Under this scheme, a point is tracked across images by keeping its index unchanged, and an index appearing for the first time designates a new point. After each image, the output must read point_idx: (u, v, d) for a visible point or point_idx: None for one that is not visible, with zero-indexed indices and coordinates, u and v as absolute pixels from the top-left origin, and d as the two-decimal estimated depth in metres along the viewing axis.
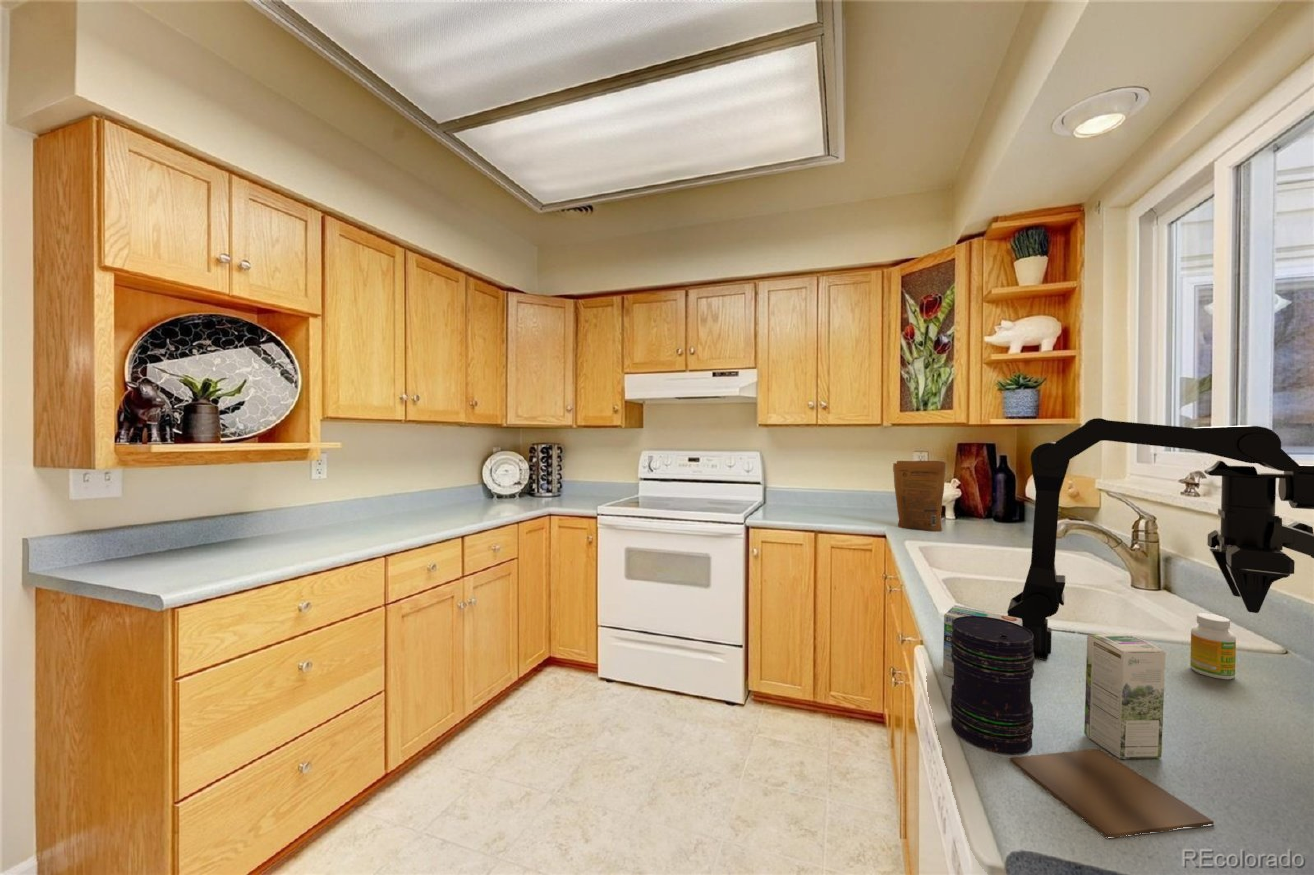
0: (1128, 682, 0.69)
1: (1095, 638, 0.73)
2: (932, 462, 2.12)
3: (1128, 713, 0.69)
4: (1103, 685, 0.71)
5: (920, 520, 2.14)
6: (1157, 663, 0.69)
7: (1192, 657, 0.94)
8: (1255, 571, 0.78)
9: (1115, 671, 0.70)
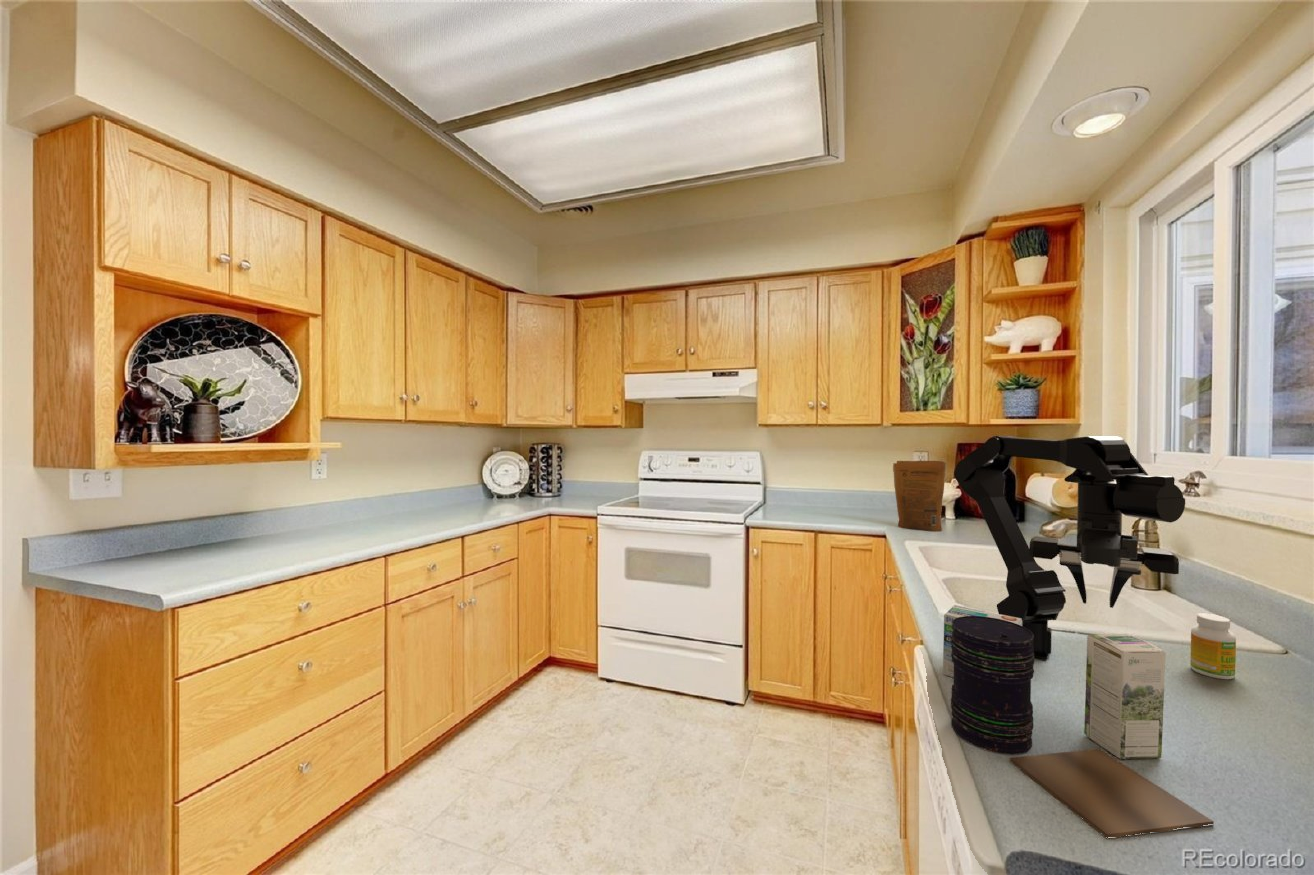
0: (1128, 682, 0.69)
1: (1095, 638, 0.73)
2: (932, 462, 2.12)
3: (1128, 713, 0.69)
4: (1104, 685, 0.71)
5: (920, 520, 2.14)
6: (1157, 663, 0.69)
7: (1192, 657, 0.94)
8: None
9: (1115, 671, 0.70)
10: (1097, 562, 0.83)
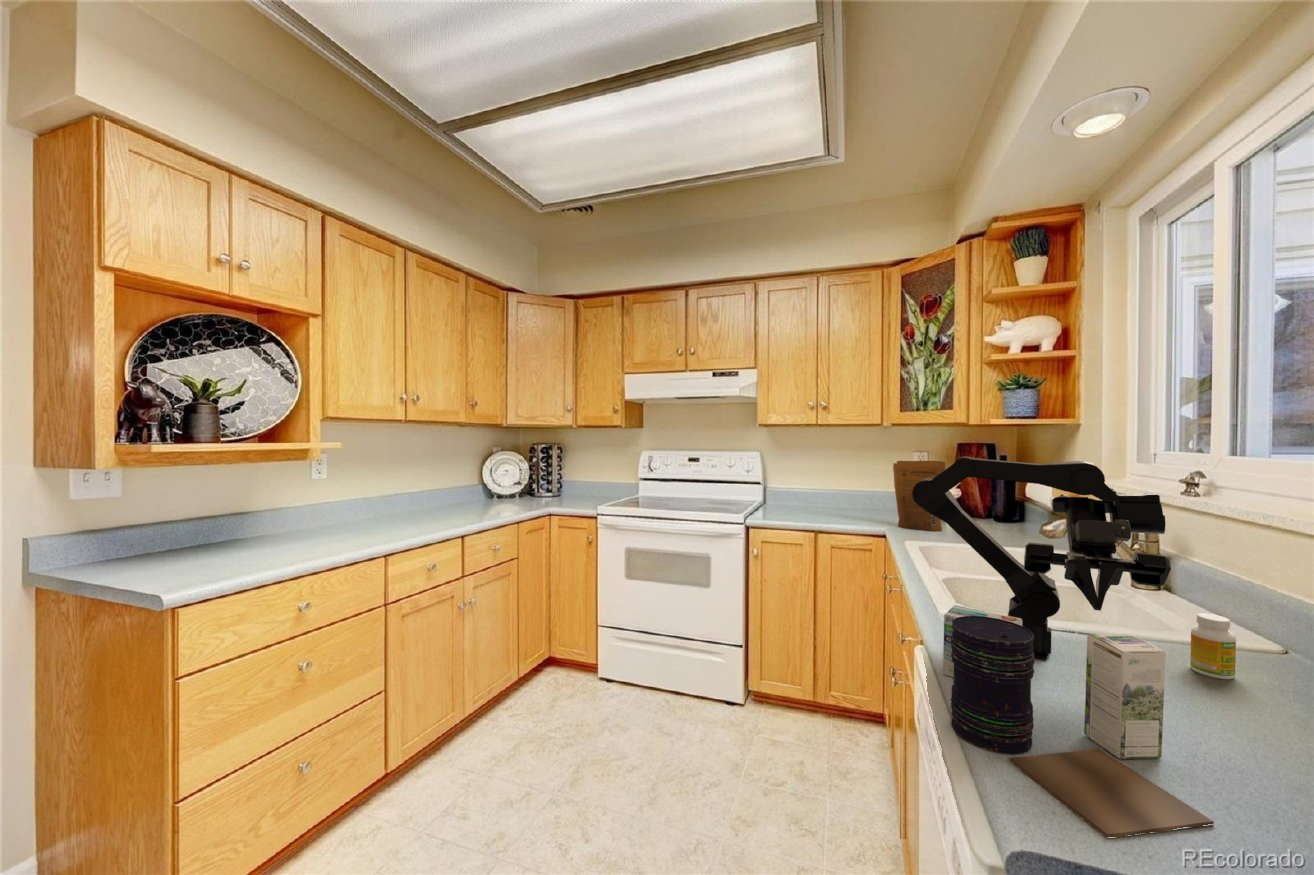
0: (1128, 682, 0.69)
1: (1095, 638, 0.73)
2: (932, 462, 2.12)
3: (1128, 713, 0.69)
4: (1103, 685, 0.71)
5: (920, 520, 2.14)
6: (1157, 663, 0.69)
7: (1192, 657, 0.94)
8: None
9: (1115, 671, 0.70)
10: (1095, 536, 0.86)
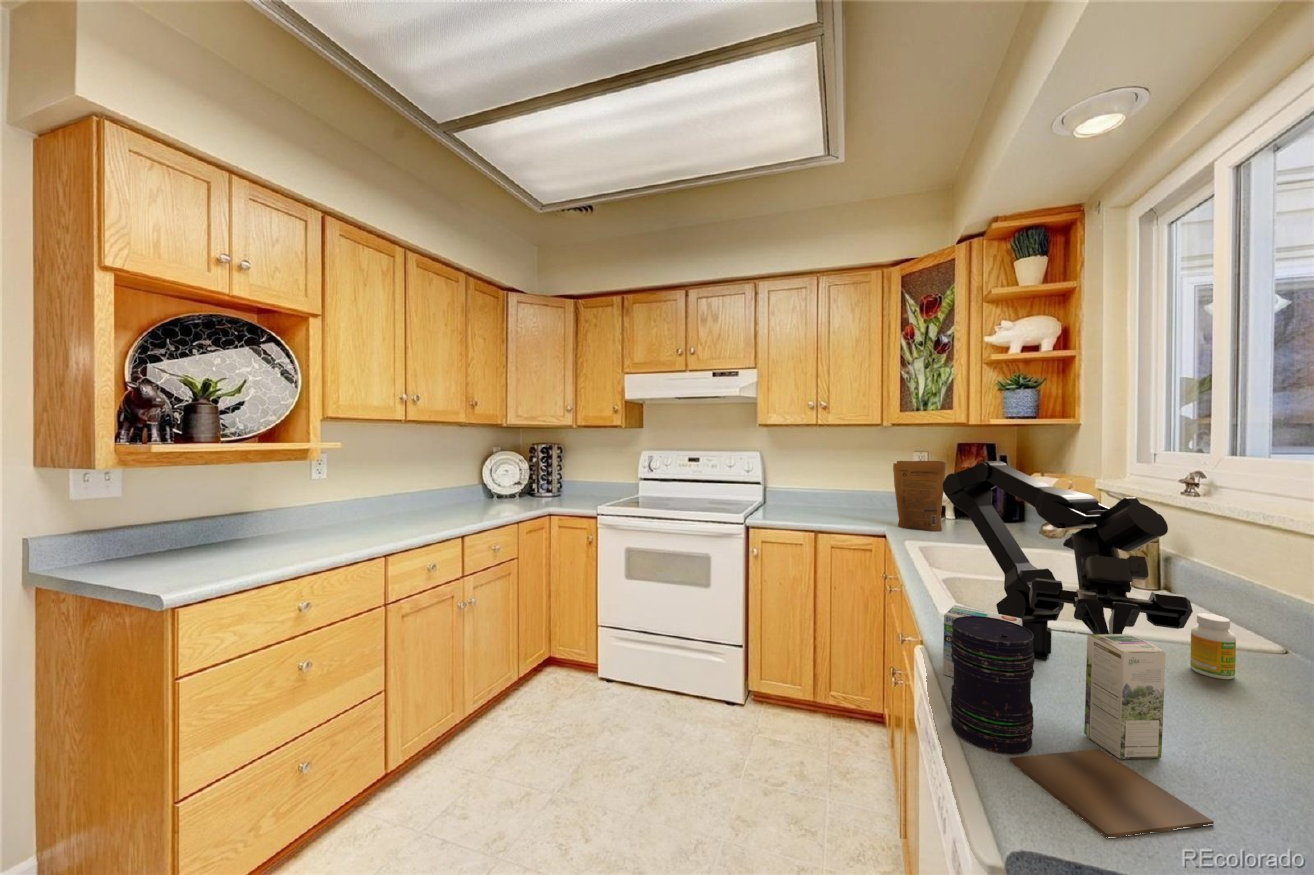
0: (1128, 682, 0.69)
1: (1095, 638, 0.73)
2: (932, 462, 2.12)
3: (1128, 713, 0.69)
4: (1104, 685, 0.71)
5: (920, 520, 2.14)
6: (1157, 663, 0.69)
7: (1192, 657, 0.94)
8: (1075, 609, 0.84)
9: (1115, 671, 0.70)
10: (1109, 574, 0.78)
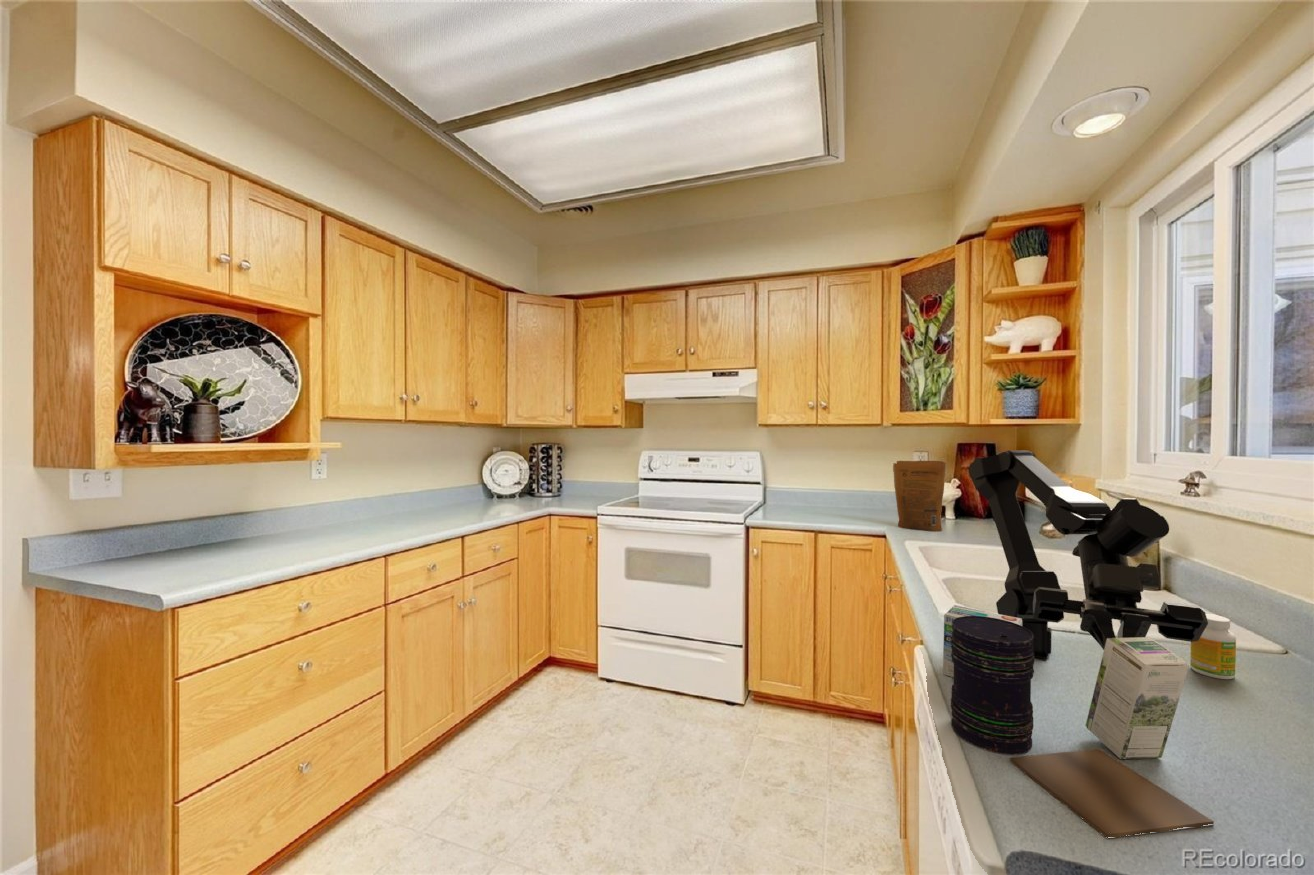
0: (1144, 692, 0.67)
1: (1115, 643, 0.70)
2: (932, 462, 2.12)
3: (1137, 720, 0.68)
4: (1116, 690, 0.69)
5: (920, 520, 2.14)
6: (1178, 675, 0.66)
7: (1192, 657, 0.94)
8: None
9: (1131, 680, 0.67)
10: (1117, 583, 0.73)
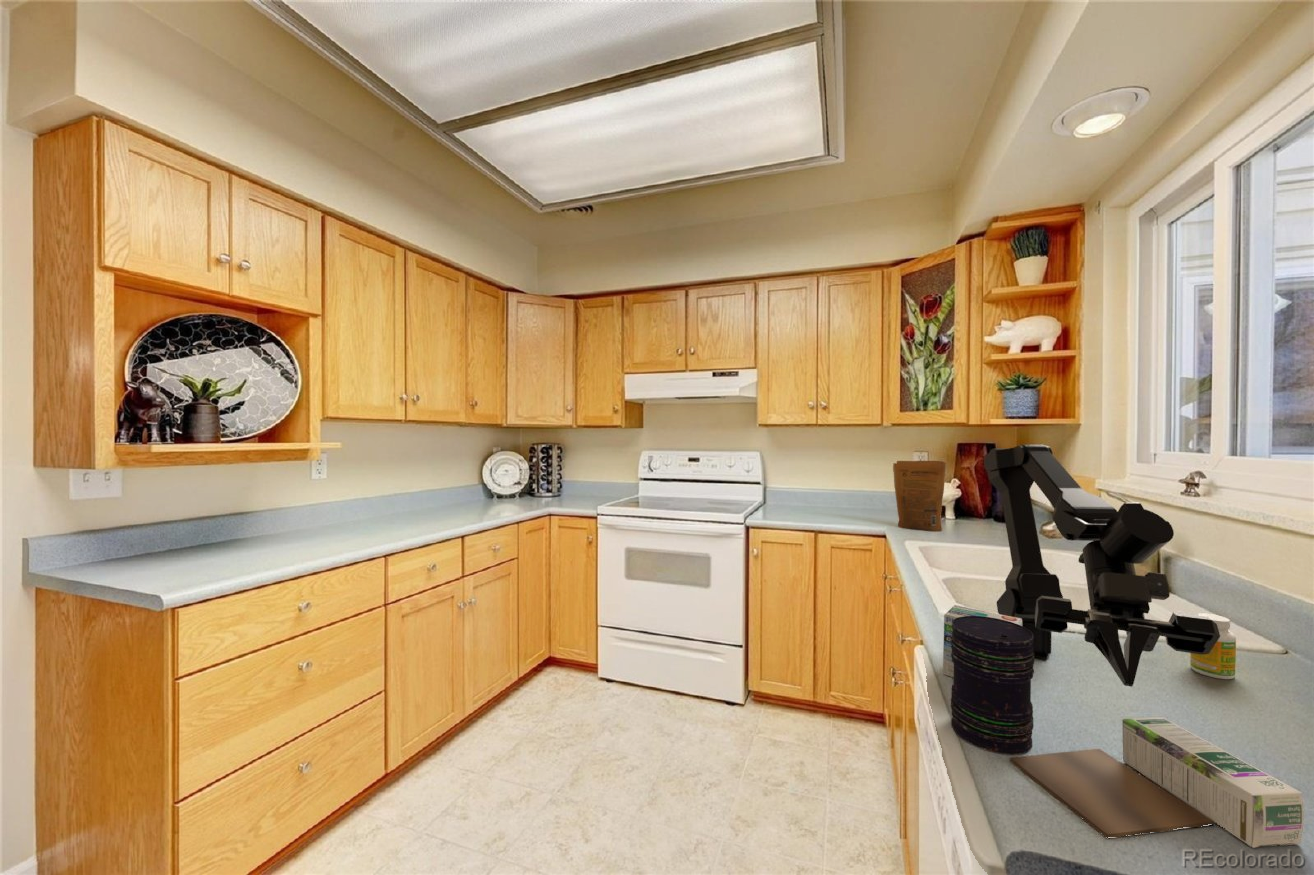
0: None
1: (1252, 807, 0.55)
2: (932, 462, 2.12)
3: None
4: (1192, 785, 0.60)
5: (920, 520, 2.14)
6: None
7: (1192, 657, 0.94)
8: (1086, 631, 0.75)
9: (1218, 816, 0.58)
10: (1124, 594, 0.70)
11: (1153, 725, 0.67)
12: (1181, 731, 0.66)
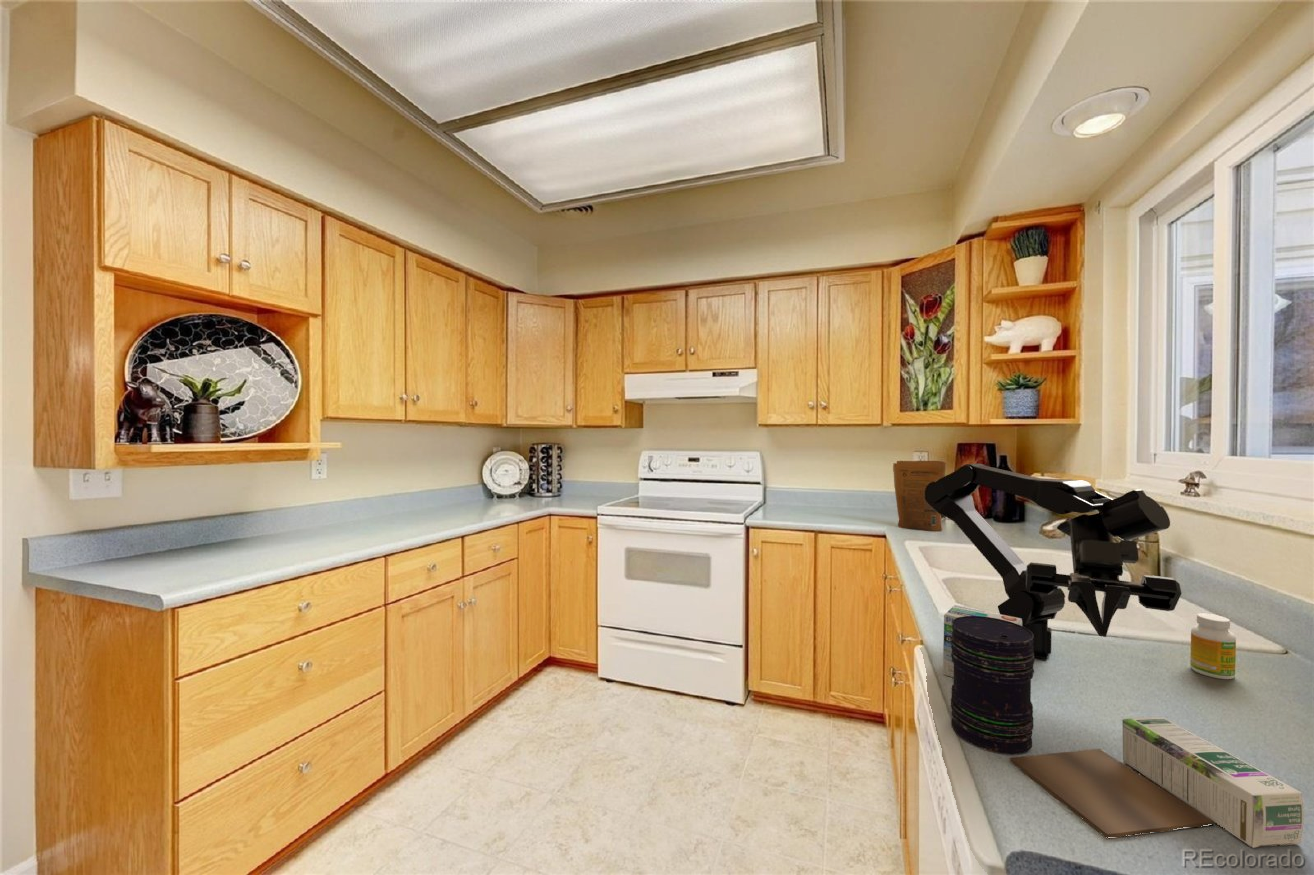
0: None
1: (1252, 807, 0.55)
2: (932, 462, 2.12)
3: None
4: (1192, 785, 0.60)
5: (920, 520, 2.14)
6: None
7: (1192, 657, 0.94)
8: (1069, 592, 0.87)
9: (1218, 816, 0.58)
10: (1100, 558, 0.82)
11: (1153, 725, 0.67)
12: (1181, 731, 0.66)
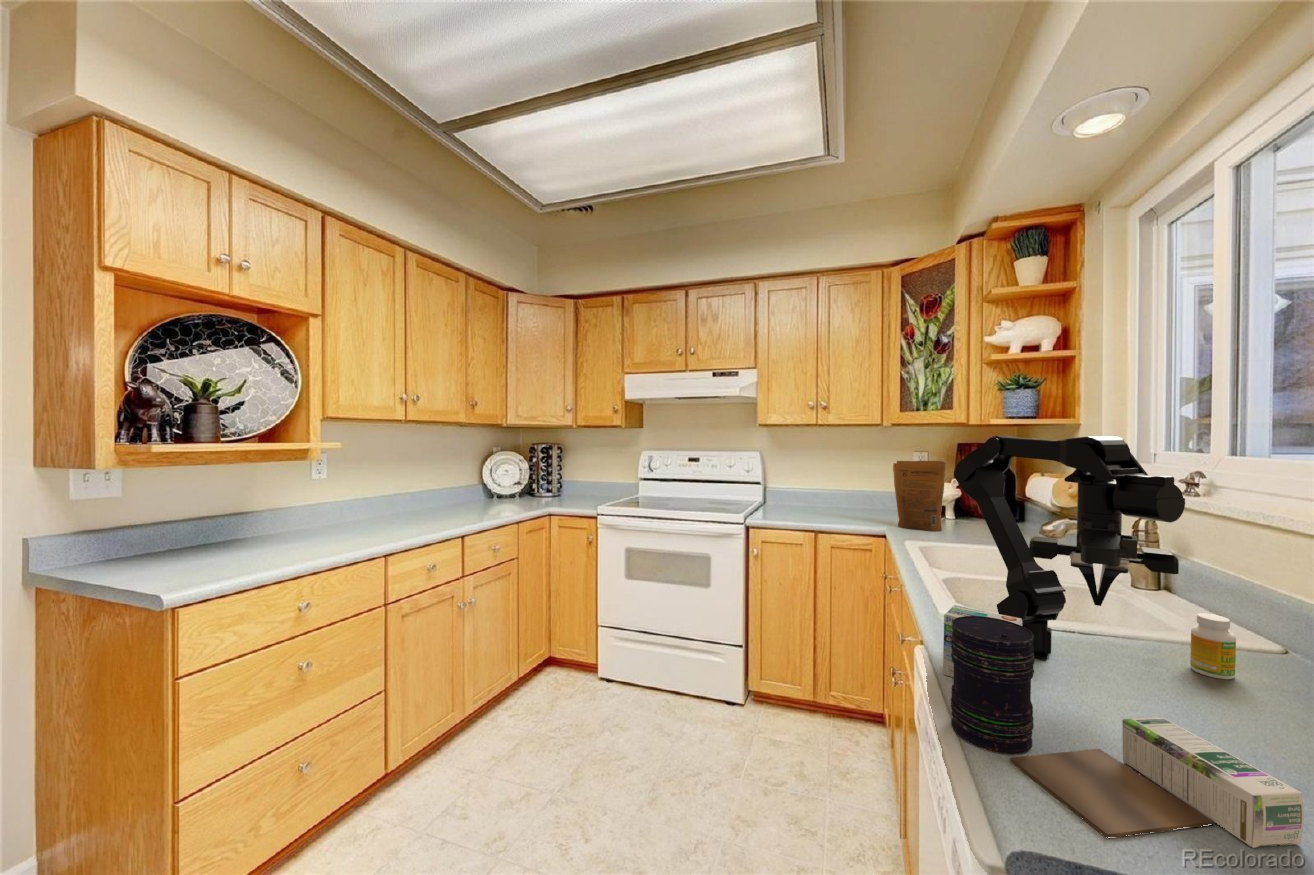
0: None
1: (1252, 807, 0.55)
2: (932, 462, 2.12)
3: None
4: (1192, 785, 0.60)
5: (920, 520, 2.14)
6: None
7: (1192, 657, 0.94)
8: None
9: (1218, 816, 0.58)
10: (1097, 562, 0.83)
11: (1153, 725, 0.67)
12: (1181, 731, 0.66)
